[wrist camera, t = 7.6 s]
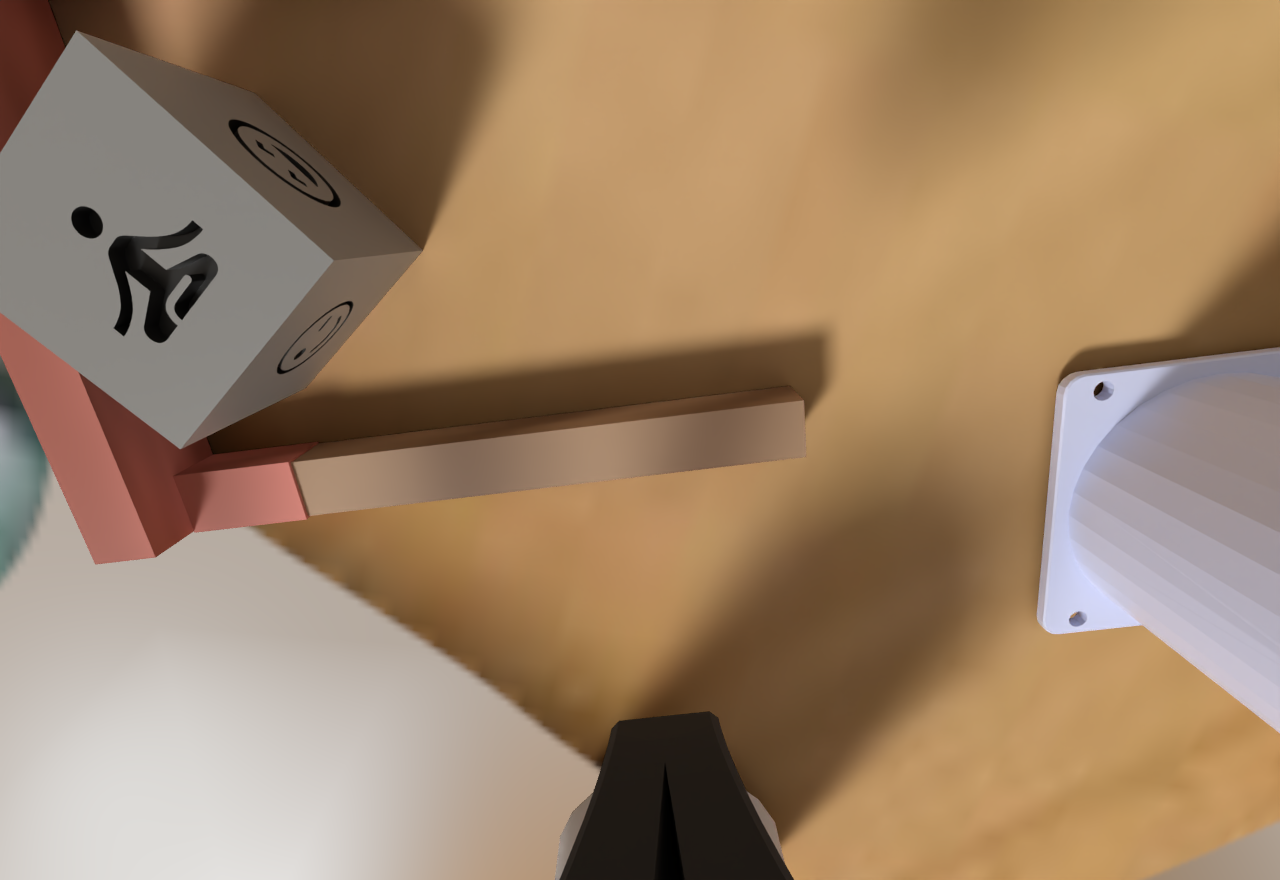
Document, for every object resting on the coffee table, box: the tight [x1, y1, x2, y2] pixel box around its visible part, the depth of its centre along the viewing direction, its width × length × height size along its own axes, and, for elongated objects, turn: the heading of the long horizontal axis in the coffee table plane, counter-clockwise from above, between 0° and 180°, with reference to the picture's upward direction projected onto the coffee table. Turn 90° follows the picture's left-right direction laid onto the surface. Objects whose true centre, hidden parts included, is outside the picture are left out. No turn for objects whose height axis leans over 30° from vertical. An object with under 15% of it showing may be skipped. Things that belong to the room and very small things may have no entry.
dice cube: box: [0, 30, 423, 449], centre depth 14 cm, size 5×5×5 cm
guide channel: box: [0, 0, 806, 564], centre depth 14 cm, size 18×14×3 cm
